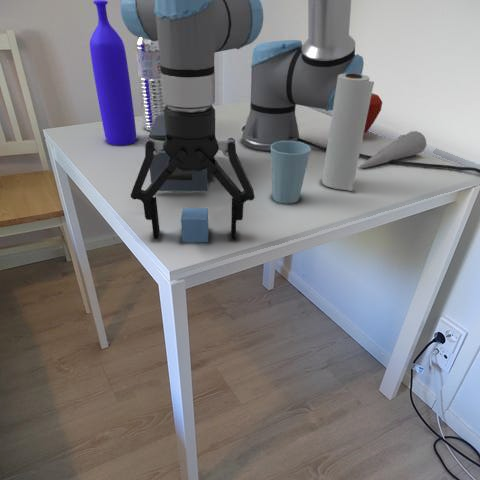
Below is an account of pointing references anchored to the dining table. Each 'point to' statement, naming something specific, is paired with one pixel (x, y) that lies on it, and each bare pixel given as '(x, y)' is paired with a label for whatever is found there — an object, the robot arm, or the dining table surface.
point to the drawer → (178, 176)
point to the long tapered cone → (398, 149)
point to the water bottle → (149, 80)
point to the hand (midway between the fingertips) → (195, 235)
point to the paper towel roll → (346, 130)
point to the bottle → (112, 81)
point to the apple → (373, 111)
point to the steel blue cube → (194, 224)
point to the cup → (288, 170)
